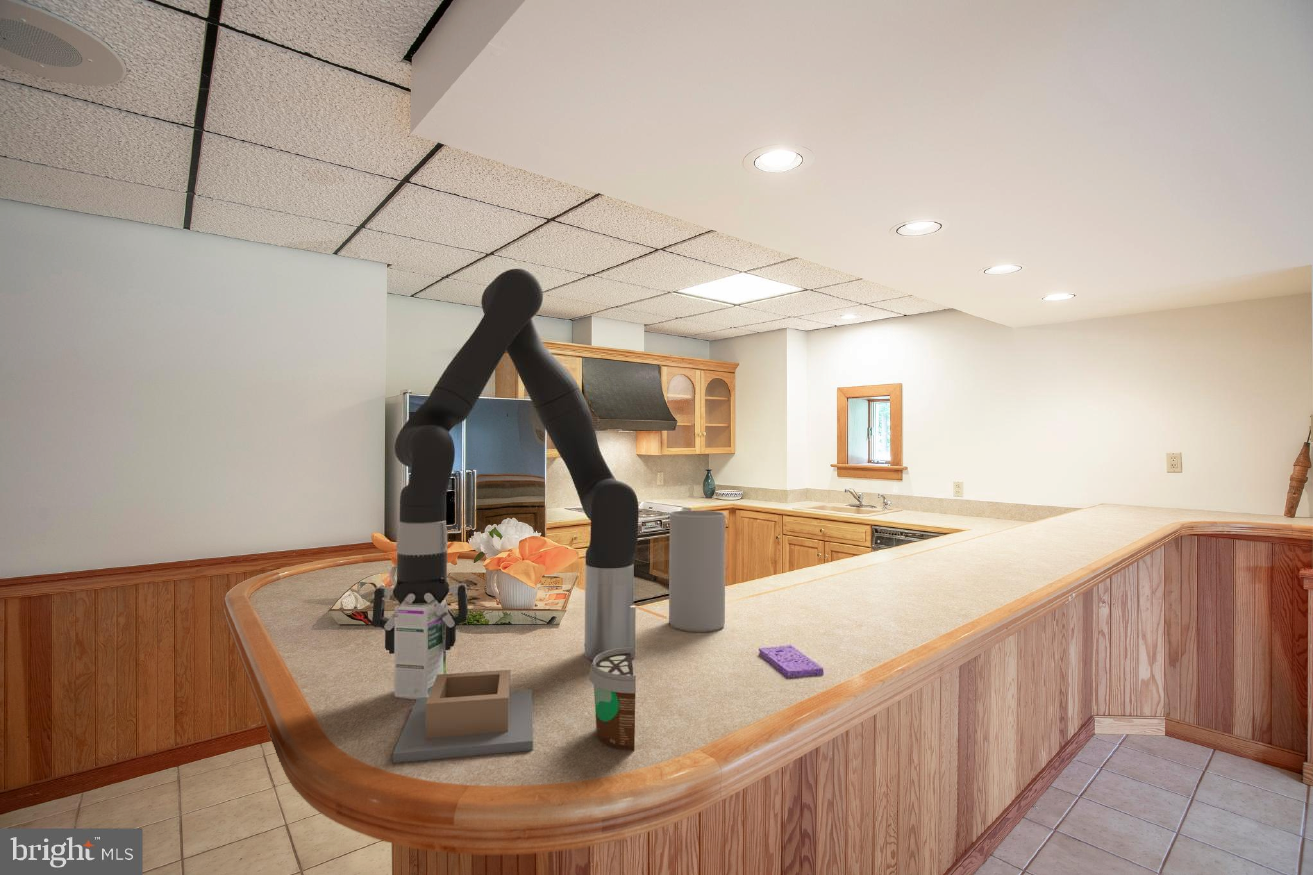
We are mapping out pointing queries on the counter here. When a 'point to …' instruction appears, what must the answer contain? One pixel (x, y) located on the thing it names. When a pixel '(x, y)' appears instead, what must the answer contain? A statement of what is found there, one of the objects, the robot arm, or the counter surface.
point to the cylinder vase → (697, 570)
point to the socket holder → (467, 718)
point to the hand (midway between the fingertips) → (420, 650)
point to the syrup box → (418, 649)
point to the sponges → (790, 661)
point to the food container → (614, 698)
